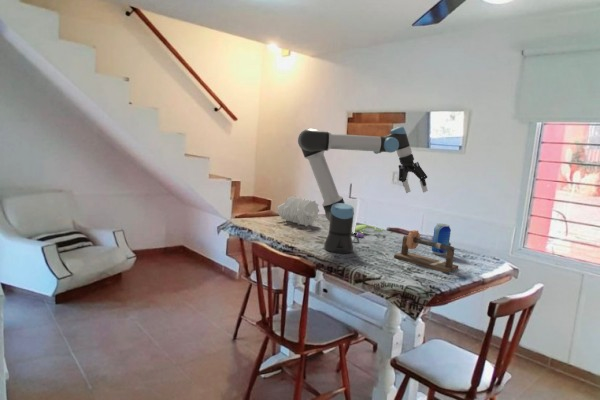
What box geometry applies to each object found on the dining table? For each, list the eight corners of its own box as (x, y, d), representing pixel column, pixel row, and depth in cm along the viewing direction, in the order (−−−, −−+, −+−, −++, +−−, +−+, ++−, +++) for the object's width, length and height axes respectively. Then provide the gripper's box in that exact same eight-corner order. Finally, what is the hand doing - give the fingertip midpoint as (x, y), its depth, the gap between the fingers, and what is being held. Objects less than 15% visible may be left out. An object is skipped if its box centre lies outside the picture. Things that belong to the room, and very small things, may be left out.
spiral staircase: (289, 225, 295) (316, 231, 277) (272, 216, 282) (299, 221, 265) (298, 201, 299) (325, 205, 281) (282, 190, 286) (309, 194, 269)
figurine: (387, 237, 267) (388, 228, 266) (354, 239, 252) (355, 230, 251) (366, 230, 282) (367, 222, 281) (335, 232, 267) (336, 223, 266)
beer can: (439, 256, 227) (443, 226, 225) (427, 251, 235) (431, 223, 232) (450, 255, 231) (454, 226, 229) (439, 251, 239) (443, 223, 236)
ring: (409, 249, 211) (411, 231, 210) (405, 248, 213) (407, 231, 212) (418, 247, 218) (420, 230, 216) (415, 246, 219) (417, 229, 218)
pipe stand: (446, 272, 196) (449, 248, 195) (394, 257, 216) (396, 235, 214) (458, 268, 205) (461, 245, 203) (406, 254, 224) (409, 233, 223)
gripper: (426, 150, 222) (438, 188, 225) (395, 155, 244) (406, 190, 247) (416, 155, 219) (428, 194, 222) (385, 159, 241) (397, 194, 244)
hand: (416, 192), depth 235 cm, fingers open, 13 cm apart
